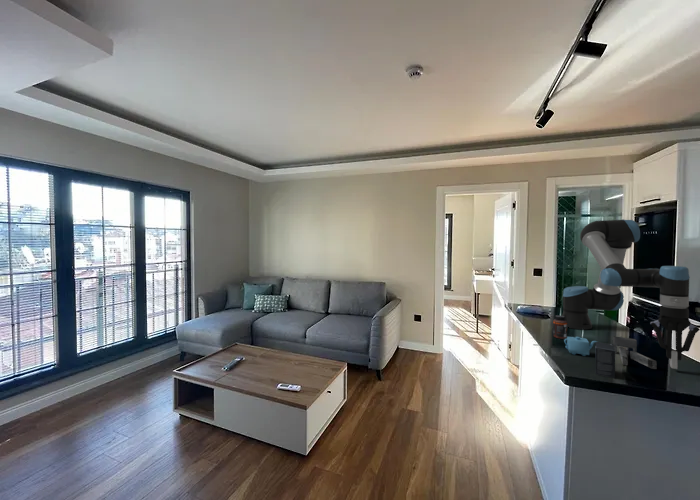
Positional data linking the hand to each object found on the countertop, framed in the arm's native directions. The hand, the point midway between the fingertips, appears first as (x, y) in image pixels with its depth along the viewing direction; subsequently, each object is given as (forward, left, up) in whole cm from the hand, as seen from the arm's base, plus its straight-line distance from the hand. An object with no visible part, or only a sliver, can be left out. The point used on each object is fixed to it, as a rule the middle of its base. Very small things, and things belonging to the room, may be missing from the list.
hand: (673, 367), depth 114 cm
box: (+17, -21, -2) cm, 27 cm away
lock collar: (-12, -13, -1) cm, 18 cm away
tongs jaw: (-3, -8, -1) cm, 9 cm away
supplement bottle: (-24, -37, -2) cm, 44 cm away
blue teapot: (-2, -28, -2) cm, 28 cm away
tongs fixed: (-3, -13, -1) cm, 14 cm away
